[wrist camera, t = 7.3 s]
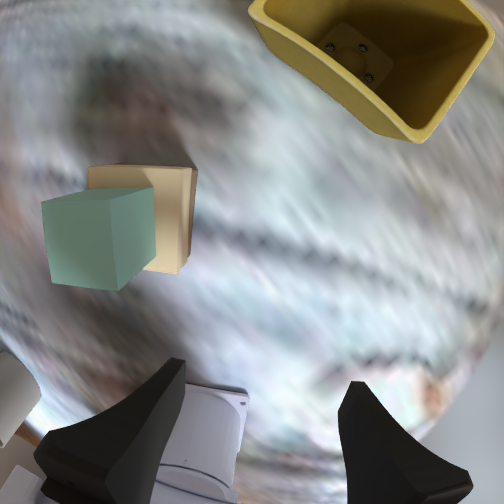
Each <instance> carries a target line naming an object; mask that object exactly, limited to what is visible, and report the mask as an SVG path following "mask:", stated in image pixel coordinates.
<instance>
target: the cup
mask: <svg viewBox="0 0 504 504" xmlns="http://www.w3.org/2000/svg"><path fill="white" fill-rule="evenodd" d="M41 396H42V395H41V391H40V387H39V385H38V383H37V382H36V380H35V378H34V376H33V375H32V374H31V372H30V371H29V370H28V369H27V368H26V366H25V365H24V364H23V363H22V362H21V361H20V360H18V359H17V358H16V357H15V356H14V355H12V354H10V353H8V352H5V351H2V352H0V447H2V448H4V446H5V445H6V443H7V442H8V441H9V439H10V438H11V437H12V435H13V434H14V433H15V431H16V430H17V429H18V427H19V426H20V425H21V423H22V422H23V421H24V419H25V418H26V417H27V416H28V414H29V413H30V412H31V410H32V409H33V408H34V407H35V405H36V404H37V403H38V402H39V400H40V398H41Z"/></svg>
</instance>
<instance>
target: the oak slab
mask: <svg viewBox="0 0 504 504" xmlns="http://www.w3.org/2000/svg"><path fill="white" fill-rule="evenodd" d="M191 173H192V168H191V167H173V166H148V165H100V166H92V167H88V190H90V189H94V188H120V187H154V215H155V239H156V257H155V258H154V259H153V260H152V261H151V262H150V263H148V264H147V265H146V266H145V267H144V268H143V270H150V271H157V272H164V273H171V274H178V272H179V271H180V270H181V268H182V267H183V266H184V265H185V263H186V262H187V251H188V225H189V205H190V188H191Z"/></svg>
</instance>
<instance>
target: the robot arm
mask: <svg viewBox="0 0 504 504" xmlns="http://www.w3.org/2000/svg"><path fill="white" fill-rule="evenodd" d="M249 399H250V397H249V395H247V394H244V393H237V392H230V391H224V390H218V389H212V388H207V387H201V386H196V385H191V384H186V383H185V360H180V359H176V358H170V359H169V360H168V361H167V362H166V363H165V364H164V365H163V366H162V367H161V368H160V369H159V370H158V371H157V372H156V373H155V374H154V375H153V376H152V377H151V378H150V379H148V380H147V381H146V382H145V383H144V384H143V385H142V386H140V387H139V388H138V389H137V390H135V391H134V392H133V393H131V394H130V395H129V396H127V397H126V398H125V399H123V400H122V401H120V402H119V403H117V404H116V405H114V406H112V407H111V408H109V409H107V410H105V411H103V412H101V413H100V414H98V415H96V416H93V417H91V418H89V419H86V420H84V421H81V422H79V423H76V424H73V425H70V426H67V427H63V428H59V429H55V430H51V431H49V432H48V433H47V434H46V435H45V436H44V438H43V439H42V441H41V442H40V444H39V445H38V447H37V448H36V450H35V452H34V459H35V460H36V462H37V464H38V465H39V466H40V468H41V469H42V470H43V472H44V473H45V474H46V476H47V479H46V480H45V482H44V481H43V480H41V479H40V478H39V477H37V476H36V475H34V474H32V473H31V472H29V471H27V470H26V469H24V468H22V467H21V466H19V465H16V467H15V468H14V470H13V471H12V473H11V474H10V476H9V478H8V479H7V481H6V482H5V484H4V486H3V487H2V489H1V491H0V504H242V503H238V502H237V501H238V493H239V492H238V491H234V490H232V484H233V477H234V470H235V462H236V455H237V452H239V451H240V446H241V441H242V436H243V430H244V425H245V420H246V415H247V410H248V405H249ZM243 402H245V403H243ZM338 427H339V435H340V441H341V446H342V451H343V457H344V462H345V468H346V475H347V504H457V503H459V502H460V501H461V500H462V499H463V498H465V497H466V496H467V495H468V494H469V493H470V492H471V490H472V489H473V483H472V480H471V478H470V475H469V473H468V471H467V470H464V469H462V468H460V467H458V466H455V465H453V464H451V463H449V462H447V461H446V460H444V459H442V458H440V457H438V456H437V455H435V454H434V453H432V452H431V451H430V450H428V449H427V448H425V447H424V446H422V445H421V444H420V443H419V442H418V441H416V440H415V439H414V438H413V437H412V436H411V435H410V434H408V433H407V432H406V431H405V430H404V429H403V428H402V427H401V426H400V425H399V423H398V422H397V421H396V420H395V419H394V418H393V417H392V416H391V415H390V414H389V412H388V411H387V410H386V409H385V408H384V406H383V405H382V404H381V403H380V401H379V400H378V399H377V397H376V396H375V395H374V394H373V392H372V391H371V390H370V389H369V387H368V386H367V385H366V383H365V382H360V381H351V383H350V385H349V388H348V390H347V392H346V395H345V397H344V399H343V401H342V403H341V406H340V408H339V410H338Z"/></svg>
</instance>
